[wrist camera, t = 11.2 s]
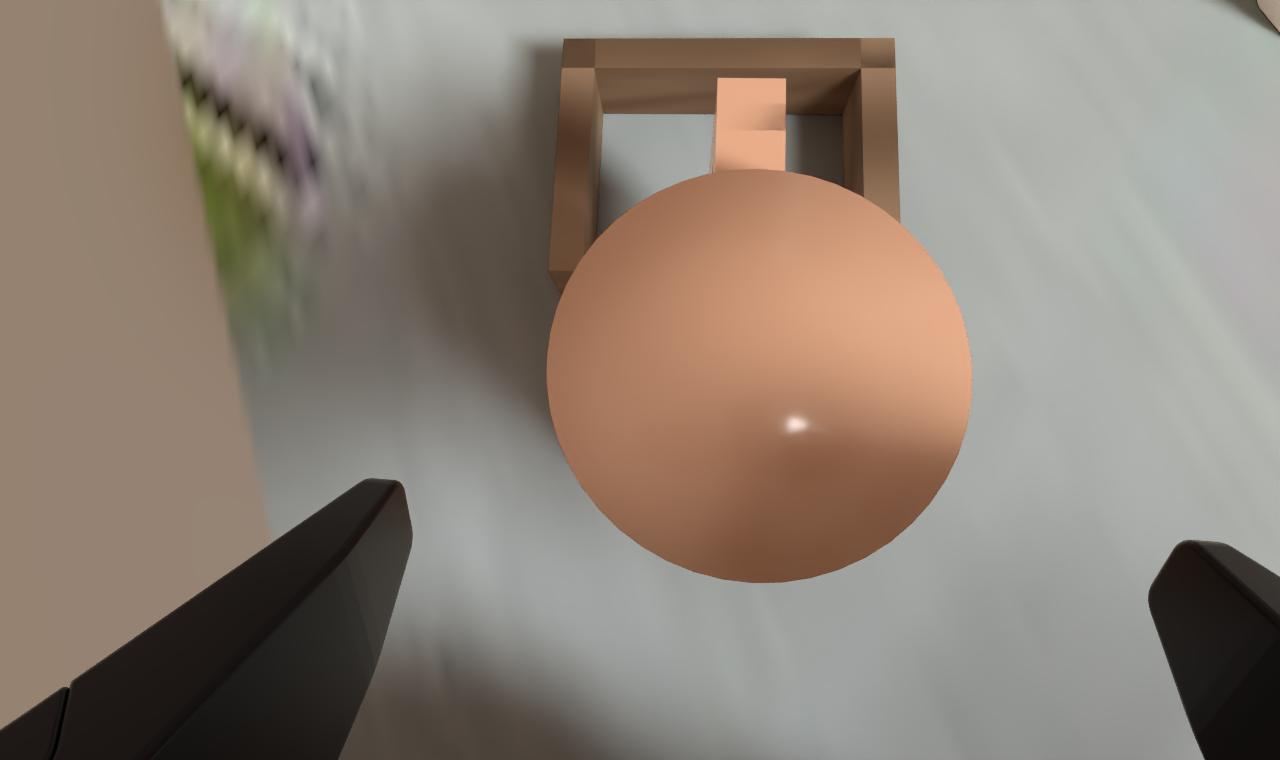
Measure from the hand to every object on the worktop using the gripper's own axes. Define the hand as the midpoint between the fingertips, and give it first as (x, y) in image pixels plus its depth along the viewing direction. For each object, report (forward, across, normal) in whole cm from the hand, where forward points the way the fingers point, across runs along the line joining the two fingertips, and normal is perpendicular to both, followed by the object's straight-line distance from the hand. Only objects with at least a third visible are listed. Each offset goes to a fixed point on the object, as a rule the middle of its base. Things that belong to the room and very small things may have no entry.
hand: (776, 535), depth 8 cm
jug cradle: (+17, 0, +2) cm, 17 cm away
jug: (+12, 0, +7) cm, 14 cm away
